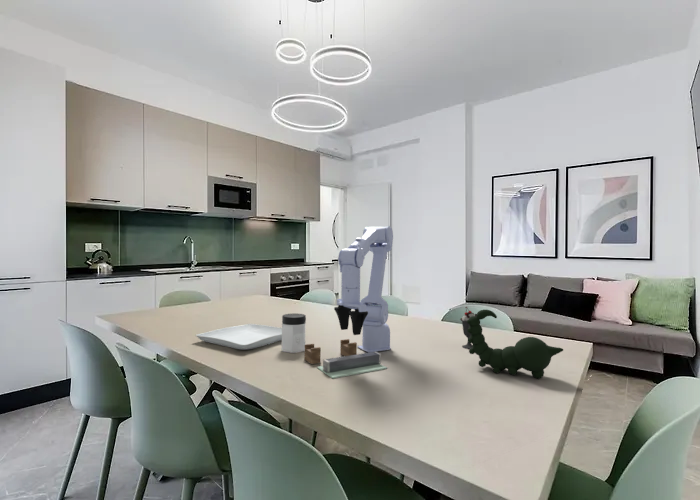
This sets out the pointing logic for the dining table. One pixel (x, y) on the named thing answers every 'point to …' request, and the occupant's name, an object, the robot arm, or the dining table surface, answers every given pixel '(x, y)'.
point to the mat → (353, 371)
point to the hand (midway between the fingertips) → (350, 331)
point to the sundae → (466, 326)
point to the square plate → (243, 336)
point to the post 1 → (312, 354)
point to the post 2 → (348, 348)
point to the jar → (293, 332)
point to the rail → (351, 362)
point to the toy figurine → (510, 350)
